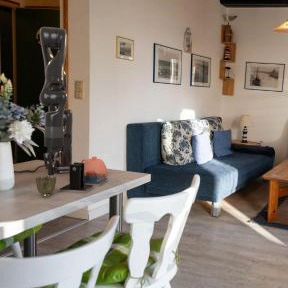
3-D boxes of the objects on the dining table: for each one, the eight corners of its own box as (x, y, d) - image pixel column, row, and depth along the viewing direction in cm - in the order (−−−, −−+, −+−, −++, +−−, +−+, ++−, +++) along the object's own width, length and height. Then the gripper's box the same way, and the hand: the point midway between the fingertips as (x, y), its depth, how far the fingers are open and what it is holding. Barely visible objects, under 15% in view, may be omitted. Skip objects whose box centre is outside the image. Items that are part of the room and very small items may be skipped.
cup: (60, 195, 156) (60, 176, 155) (47, 200, 149) (47, 180, 148) (45, 193, 158) (45, 174, 157) (31, 197, 151) (31, 178, 150)
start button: (84, 175, 177) (84, 172, 177) (88, 174, 181) (88, 170, 181) (93, 176, 177) (93, 172, 177) (96, 174, 181) (96, 171, 181)
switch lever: (50, 172, 163) (49, 166, 162) (55, 169, 168) (55, 164, 167) (78, 171, 163) (77, 165, 163) (82, 168, 168) (82, 163, 168)
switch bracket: (59, 191, 162) (59, 164, 160) (68, 186, 171) (69, 161, 169) (85, 192, 162) (85, 166, 161) (93, 187, 171) (93, 162, 170)
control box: (73, 184, 174) (73, 176, 174) (82, 179, 184) (82, 171, 184) (99, 185, 175) (99, 177, 174) (106, 180, 185) (106, 173, 184)
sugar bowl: (97, 180, 185) (97, 159, 184) (72, 177, 188) (72, 157, 186) (111, 175, 197) (111, 156, 196) (87, 172, 200) (88, 153, 198)
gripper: (53, 133, 170) (53, 169, 172) (36, 137, 156) (36, 177, 158) (70, 134, 170) (70, 170, 173) (54, 138, 156) (54, 178, 158)
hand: (54, 173), depth 165 cm, fingers closed on switch lever, 5 cm apart
